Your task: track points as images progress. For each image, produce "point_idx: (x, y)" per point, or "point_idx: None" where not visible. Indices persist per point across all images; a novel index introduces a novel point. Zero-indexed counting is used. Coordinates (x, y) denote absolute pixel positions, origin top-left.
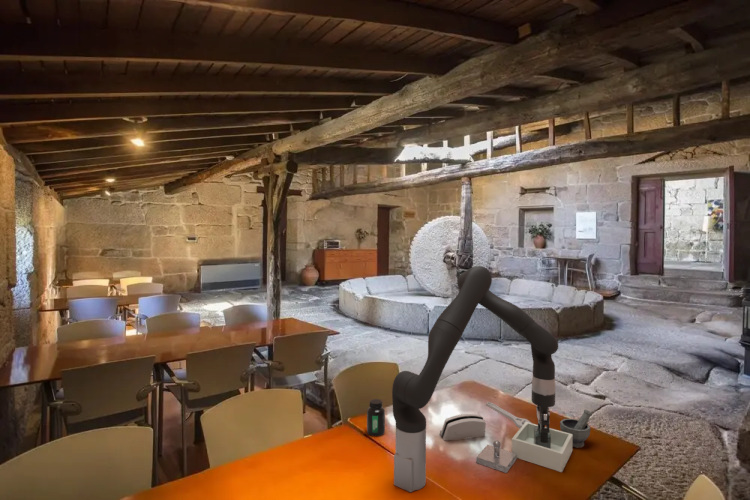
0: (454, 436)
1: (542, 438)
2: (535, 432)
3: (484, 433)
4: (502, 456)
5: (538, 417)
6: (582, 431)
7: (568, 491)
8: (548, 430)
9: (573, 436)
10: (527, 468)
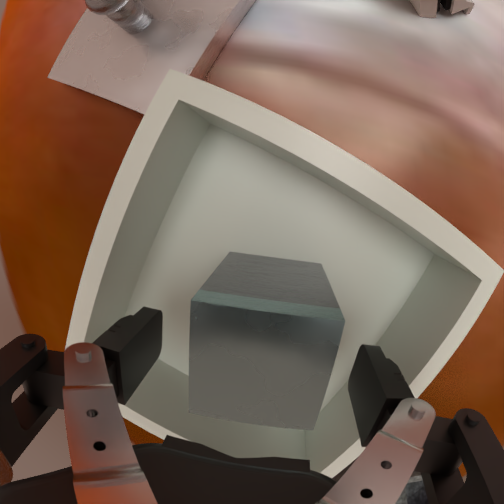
0: None
1: (111, 326)
2: (206, 301)
3: (417, 3)
4: (126, 48)
5: (84, 438)
6: None
7: (19, 301)
8: (23, 397)
9: (335, 480)
10: (103, 177)
